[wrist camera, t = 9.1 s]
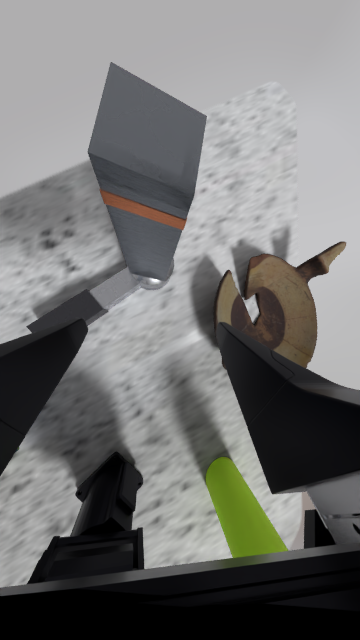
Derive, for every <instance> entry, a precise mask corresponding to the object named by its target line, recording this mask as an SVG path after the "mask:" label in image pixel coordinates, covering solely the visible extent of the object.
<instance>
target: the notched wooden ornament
mask: <svg viewBox="0 0 360 640" xmlns="http://www.w3.org/2000/svg"><path fill="white" fill-rule="evenodd" d="M345 246H346V242H339V243H337V244H335V245H333V246H331V247H329V248H328V249H326V250H325V251H323V252H322V253H320V254H318V255H316V256H314V257H313V258H311V259H309V260H307V261H306V262H304V263H303V264H301V265H300V266H298V267H297V268H296V267H293V266H292V265H290V264H288V263H287V262H286V261H284V260H283V259H281V258H279V257H276V256H273V255H270V254H261V255H259V256H256V257H252V258H251V259H250V261H249V265H248V272H247V276H246V282H245V290H244V293H245V294H244V300H247V299H249V298H250V297H251V296H253V295H254V294H255V293H257V301H258V306H259V310H260V316H259V317H258V319H257V321H256V323H255V325H253V323H252V321H251V318H250V316H249V314H248V311H247V308H246V306H245V304H244V302H243V299H242V297H241V295H240V293H239V292H238V289H237V288H236V287H235V282H234V280H233V277H232V273H231V271H230V270H227V271H226V273H225V274H224V276H223V278H222V280H221V281H220V284H219V286H218V290H217V293H216V297H215V302H214V329H215V335H216V330H217V326H218V323H219V322H226V323H228V324H229V325H231V326H233V327H234V328H236V329H238V330H240V331H241V332H243V333H245V334H246V335H248V336H250V337H251V338H253V339H255V340H257V341H258V342H260V343H262V344H263V345H265V346H267V347H268V348H270V350H271V349H272V350H274V351H275V352H277V353H279V354H280V355H282V356H284V357H286V358H287V359H289V360H291V361H293V362H295V363H297V364H299V365H300V366H302V367H304V368H307V364H308V363H309V362H310V361H311V358H312V357H313V353H314V349H315V346H316V340H317V319H316V318H317V317H316V308H315V304H314V299H313V297H312V294H311V292H310V289H309V287H308V281H309V280H310V279H311V278H313V277H316V276H318V275H323V274H326V273H328V272H329V265H330V264H331V262H332V261H333V260H334V259H335V258H336V257H337V255H339V254H340V253H341V252H342V251H343V250H344V248H345ZM216 339H217V336H216ZM217 343H218V340H217ZM218 346H219V345H218ZM222 365H223V367H224V368H225V369H226V367H225V364H224V361H223V359H222Z"/></svg>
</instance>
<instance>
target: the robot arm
mask: <svg viewBox="0 0 360 640" xmlns="http://www.w3.org/2000/svg"><path fill="white" fill-rule="evenodd" d="M87 332H88V327H87V325H86V322H85V320H84V319H83V318H74V319H71V320H68V321H65V322H62V323H60V324H57V325H54V326H51V327H48V328H45V329H43V330H40V331H37V332H34V333H31V334H28V335H26V336H23V337H20V338H17V339H14V340H11V341H8V342H6V343H3V344H0V476H1V474H2V473H3V471H4V469H5V468H6V466H7V465H8V463H9V461H10V460H11V458H12V457H13V455H14V453H15V452H16V450H17V449H18V447H19V445H20V444H21V442H22V441H23V439H24V437H25V435H26V434H27V432H28V431H29V429H30V428H31V426H32V425H33V423H34V421H35V420H36V418H37V417H38V415H39V413H40V412H41V410H42V409H43V407H44V405H45V404H46V402H47V401H48V399H49V397H50V396H51V394H52V393H53V391H54V389H55V388H56V386H57V385H58V383H59V381H60V380H61V378H62V377H63V375H64V374H65V372H66V370H67V369H68V367H69V366H70V364H71V362H72V361H73V359H74V358H75V356H76V354H77V353H78V351H79V349H80V347H81V345H82V343H83V341H84V339H85V337H86V335H87ZM216 336H217V340H218V345H219V349H220V353H221V356H222V359H223V361H224V364H225V367H226V370H227V372H228V375H229V378H230V381H231V383H232V386H233V389H234V392H235V394H236V397H237V400H238V403H239V405H240V408H241V411H242V414H243V416H244V419H245V422H246V425H247V426H248V427H247V428H248V430H249V433H250V436H251V439H252V442H253V444H254V447H255V450H256V453H257V455H258V458H259V461H260V464H261V466H262V469H263V472H264V475H265V477H266V480H267V483H268V486H269V488H270V491H271V493H272V494H283V493H294V492H305V491H307V493H308V495H309V497H310V499H311V500H312V502H313V504H314V506H315V508H316V509H315V510H305V523H304V524H305V525H304V526H305V527H304V549H300V550H292V551H284V552H276V553H268V554H260V555H253V556H245V557H237V558H229V559H221V560H214V561H206V562H198V563H190V564H182V565H175V566H167V567H159V568H151V569H144V550H143V527H141V528H137V529H136V530H132V518H133V512H134V511H135V506H136V493H137V490H138V489H139V488H140V487H141V486H142V485H143V478H142V477H141V476H140V475H139V474H138V472H137V471H136V470H135V469H134V468H133V467H132V466H131V465H130V464H129V463H128V462H127V461H126V460H125V459H124V458H123V457H122V456H121V455H120V454H119V453H118V452H115V453H114V454H113V455H111V456H110V457H109V458H108V459H107V460H106V461H105V462H104V463H103V464H102V465H101V466H100V467H99V468H98V469H97V470H96V471H95V472H94V473H93V474H92V475H91V476H90V477H89V478H88V479H87V480H86V481H85V482H84V483H83V484H82V485H81V486H80V487H79V488H78V489H77V492H76V497H77V498H78V499H79V500H80V501H81V502H83V504H82V506H81V509H80V512H79V514H78V517H77V519H76V522H75V525H74V527H73V530H72V533H71V535H70V536H69V537H60V536H54V537H53V539H52V541H51V543H50V545H49V546H48V548H47V550H45V551H44V553H43V555H42V557H41V559H40V560H39V561H38V563H37V565H36V567H35V569H34V571H33V574H32V576H31V578H30V580H29V581H28V583H27V584H26V585H19V586H11V587H3V588H0V640H360V390H355V389H351V388H347V387H344V386H341V385H338V384H336V383H333V382H331V381H329V380H327V379H325V378H323V377H321V376H320V375H318V374H316V373H314V372H312V371H310V370H308V369H306V368H304V367H302V366H300V365H299V364H297V363H295V362H293V361H291V360H289V359H287V358H286V357H284V356H282V355H280V354H279V353H277V352H275V351H274V350H272V349H271V350H270V348H268V347H267V346H265V345H263V344H262V343H260V342H258V341H257V340H255V339H253V338H251V337H250V336H248V335H246V334H245V333H243V332H241V331H240V330H238V329H236V328H234V327H233V326H231V325H229V324H228V323H226V322H219V323H218V326H217V330H216ZM114 457H116V458H114ZM80 491H81V492H80Z"/></svg>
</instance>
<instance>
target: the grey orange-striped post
mask: <svg viewBox="0 0 360 640" xmlns="http://www.w3.org/2000/svg"><path fill="white" fill-rule="evenodd" d="M206 118H207V116H206V115H204V114H202V113H200V112H199V111H197V110H195V109H193V108H191V107H190V106H188V105H186V104H184V103H183V102H181V101H179V100H177V99H176V98H174V97H172V96H170V95H169V94H167V93H165V92H163V91H161V90H160V89H158V88H156V87H154V86H153V85H151V84H149V83H147V82H145V81H144V80H142V79H140V78H138V77H137V76H135V75H133V74H131V73H130V72H128V71H126V70H124V69H123V68H121V67H119V66H117V65H116V64H114V63H112V62H111V63H110V67H109V71H108V75H107V79H106V83H105V87H104V90H103V95H102V98H101V102H100V106H99V110H98V114H97V118H96V121H95V125H94V129H93V133H92V137H91V141H90V145H89V148H88V154H89V157H90V160H91V163H92V166H93V169H94V172H95V174H96V177H97V180H98V183H99V186H100V192H101V195H102V198H103V201H104V204H106V206H107V209H108V212H109V214H110V217H111V220H112V223H113V226H114V229H115V232H116V234H117V237H118V240H119V243H120V246H121V249H122V252H123V254H124V257H125V260H126V263H127V266H128V269H129V272H130V273H131V274H135V275H140V276H144V277H148V278H152V279H156V280H160V281H165V280H166V277H167V274H168V271H169V268H170V265H171V262H172V259H173V256H174V253H175V250H176V247H177V244H178V241H179V238H180V235H181V233H182V230H183V229H184V226H185V224H186V220H187V215H188V212H189V209H190V206H191V203H192V200H193V197H194V193H195V187H196V181H197V174H198V168H199V162H200V156H201V149H202V143H203V137H204V131H205V125H206Z"/></svg>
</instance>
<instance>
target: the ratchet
mask: <svg viewBox="0 0 360 640" xmlns="http://www.w3.org/2000/svg"><path fill="white" fill-rule="evenodd" d="M126 265H127V263H126ZM173 269H174V259H172V262H171V265H170V268H169V271H168V274H167V277H166V280H165V281H160V280H156V279H152V278H148V277H144V276H140V275H135V274H131V273H130V272H129V269H128V266H127V267H126V268H125V269H123V270H122V271H120V272H119V273H117V274H115V275H114V276H112V277H111V278H109V279H107V280H106V281H104V282H103V283H101V284H99V285H98V286H96V287H95V288H93V289H91V290H90V291H88V290H87V289H86V290H84V291H83V292H81V293H79V294H78V295H76V296H75V297H73V298H71V299H70V300H68V301H67V302H65V303H63V304H62V305H60V306H59V307H57V308H55V309H54V310H52V311H51V312H49V313H47V314H46V315H44V316H43V317H41V318H39V319H38V320H36V321H35V322H33V323H31V324H30V325H28V326H26V327H27V328H28V329H29V330H30V331H31V332H32V333H34V332H37V331H40V330H43V329H45V328H48V327H51V326H54V325H57V324H60V323H62V322H65V321H68V320H71V319H74V318H83V319H84V320H85V322H86V325H87V326H88V325H90V324H91V323H92V322H94V321H95V320H97V319H98V318H100V317H101V316H103V315H104V314H105V313H107V312H108V310H109V309H110V308H112V307H113V306H115V305H116V304H118V303H119V302H120V301H122V300H123V299H125V298H126V297H128V296H129V295H131V294H132V293H134V292H135V291H136V290H138V289H139V288H141V287H142V288H144V289H147V290H156V289H160V288H162V287H163V286H165V285H166V284H167V282H168V281H169V279H170V276H171V274H172V272H173Z"/></svg>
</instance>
